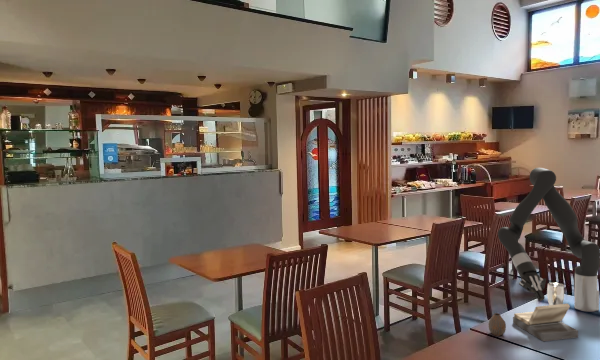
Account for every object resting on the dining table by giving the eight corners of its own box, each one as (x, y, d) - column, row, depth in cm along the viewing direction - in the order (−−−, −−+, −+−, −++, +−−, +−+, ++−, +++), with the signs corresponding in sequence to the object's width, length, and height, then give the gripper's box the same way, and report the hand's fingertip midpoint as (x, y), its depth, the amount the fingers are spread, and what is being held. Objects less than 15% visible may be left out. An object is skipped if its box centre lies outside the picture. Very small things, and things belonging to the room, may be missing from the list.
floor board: (512, 323, 207) (513, 313, 207) (544, 319, 210) (544, 310, 209) (543, 341, 187) (543, 330, 187) (577, 337, 190) (578, 327, 190)
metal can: (559, 313, 217) (560, 282, 216) (566, 318, 210) (567, 286, 209) (544, 313, 218) (544, 282, 217) (550, 318, 211) (551, 286, 210)
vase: (491, 329, 201) (491, 310, 200) (507, 333, 197) (507, 313, 196) (486, 334, 196) (486, 314, 195) (503, 338, 191) (503, 318, 191)
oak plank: (530, 324, 196) (528, 321, 197) (561, 321, 198) (559, 318, 199) (538, 309, 190) (536, 306, 192) (570, 306, 193) (567, 303, 194)
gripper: (514, 261, 206) (532, 297, 195) (540, 259, 208) (559, 294, 197) (507, 270, 212) (524, 304, 201) (532, 268, 214) (551, 302, 203)
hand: (541, 299), depth 199 cm, fingers closed
